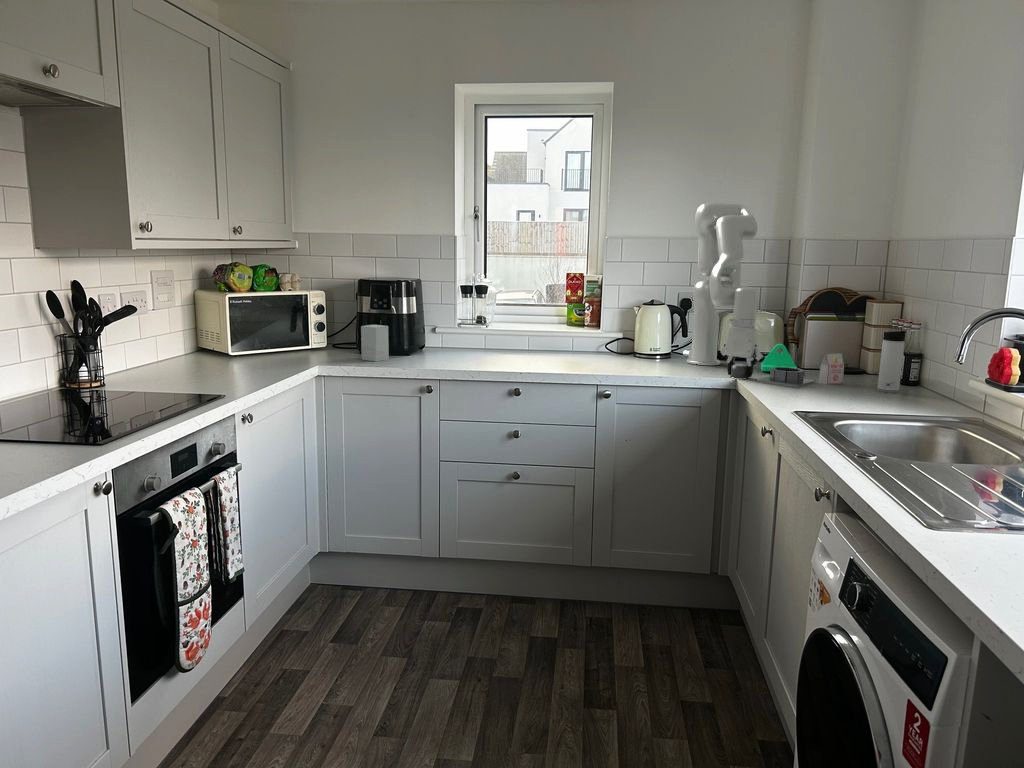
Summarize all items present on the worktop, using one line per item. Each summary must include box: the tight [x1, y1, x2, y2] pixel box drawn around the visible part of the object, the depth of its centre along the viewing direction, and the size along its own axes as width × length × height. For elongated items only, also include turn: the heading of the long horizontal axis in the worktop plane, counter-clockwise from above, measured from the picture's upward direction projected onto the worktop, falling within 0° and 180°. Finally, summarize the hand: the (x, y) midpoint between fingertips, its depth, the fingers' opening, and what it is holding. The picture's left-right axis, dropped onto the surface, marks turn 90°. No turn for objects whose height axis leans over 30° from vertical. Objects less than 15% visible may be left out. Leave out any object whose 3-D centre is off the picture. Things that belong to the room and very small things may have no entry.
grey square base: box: [756, 367, 817, 389], centre depth 258 cm, size 14×14×4 cm
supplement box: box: [360, 324, 390, 362], centre depth 284 cm, size 7×7×13 cm
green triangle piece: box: [760, 343, 798, 372], centre depth 278 cm, size 12×8×10 cm, turn 74°
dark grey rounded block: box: [730, 363, 750, 379], centre depth 266 cm, size 6×6×4 cm
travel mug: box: [876, 330, 907, 394], centre depth 244 cm, size 6×7×20 cm
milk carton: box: [818, 353, 845, 385], centre depth 259 cm, size 4×7×10 cm, turn 111°
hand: (739, 375), depth 266 cm, fingers closed on dark grey rounded block, 5 cm apart
